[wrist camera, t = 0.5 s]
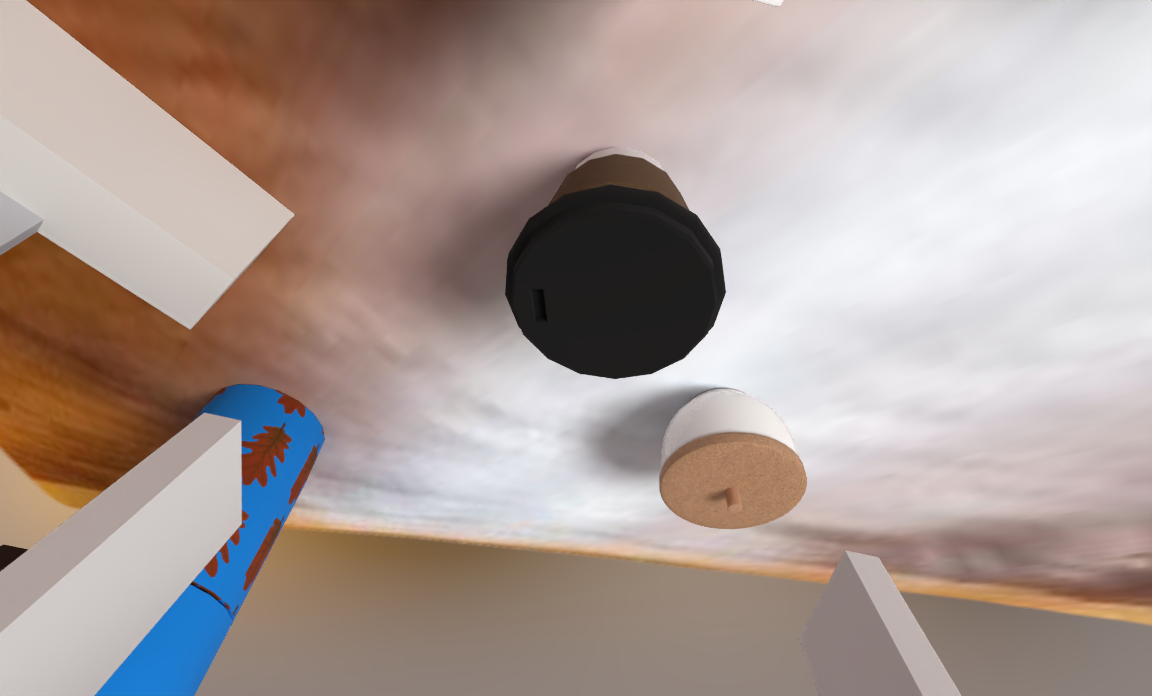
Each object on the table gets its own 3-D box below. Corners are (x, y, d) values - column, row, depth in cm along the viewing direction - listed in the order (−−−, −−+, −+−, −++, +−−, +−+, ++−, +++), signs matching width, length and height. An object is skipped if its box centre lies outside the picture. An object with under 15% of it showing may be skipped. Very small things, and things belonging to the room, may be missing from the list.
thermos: (245, 364, 50) (8, 678, 31) (348, 432, 55) (197, 739, 36) (189, 415, 55) (-45, 711, 36) (288, 473, 60) (127, 761, 41)
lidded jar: (633, 427, 52) (633, 520, 44) (704, 347, 45) (717, 441, 38) (734, 468, 54) (749, 562, 47) (814, 398, 48) (846, 495, 40)
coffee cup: (542, 268, 41) (516, 386, 32) (523, 109, 34) (482, 204, 25) (699, 265, 40) (718, 387, 31) (712, 101, 33) (741, 197, 24)
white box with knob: (-173, -158, 29) (-506, -161, 20) (294, 214, 40) (205, 310, 32) (-187, -60, 31) (-484, -27, 23) (253, 261, 43) (160, 361, 35)
